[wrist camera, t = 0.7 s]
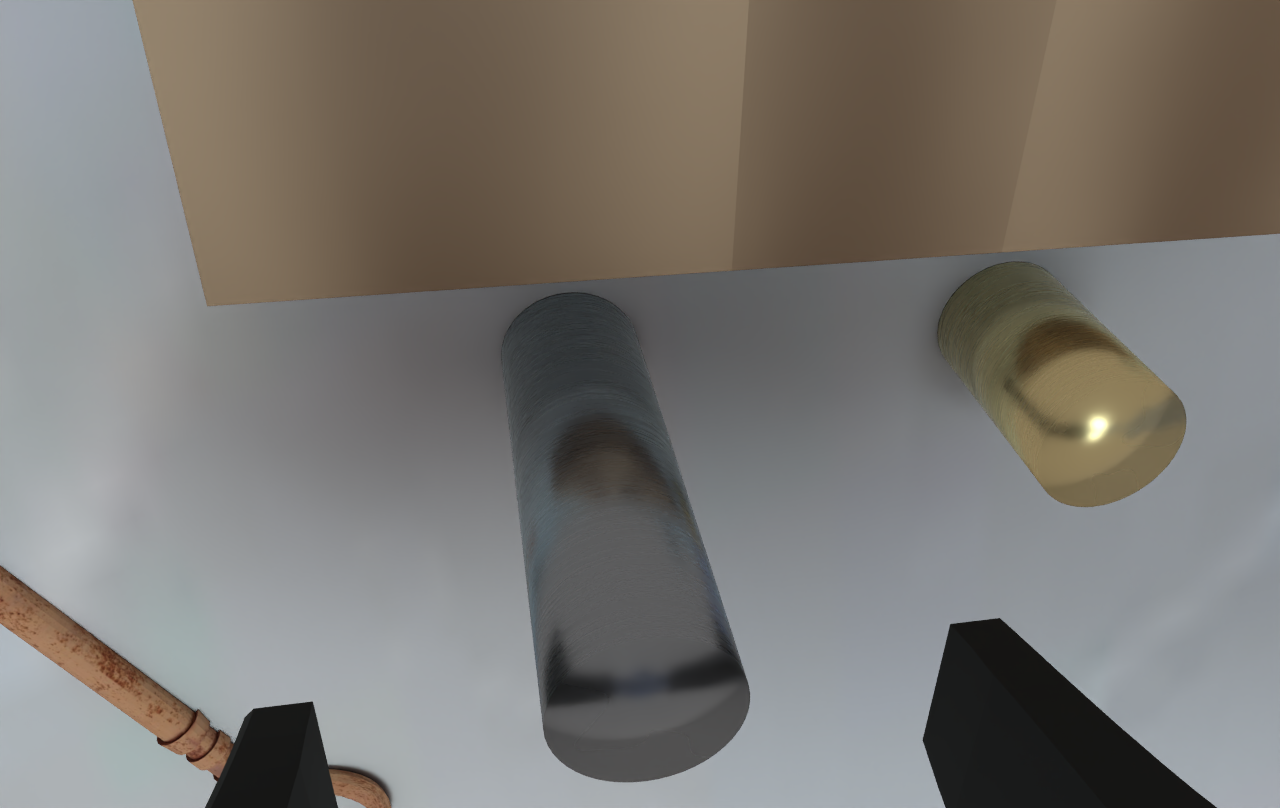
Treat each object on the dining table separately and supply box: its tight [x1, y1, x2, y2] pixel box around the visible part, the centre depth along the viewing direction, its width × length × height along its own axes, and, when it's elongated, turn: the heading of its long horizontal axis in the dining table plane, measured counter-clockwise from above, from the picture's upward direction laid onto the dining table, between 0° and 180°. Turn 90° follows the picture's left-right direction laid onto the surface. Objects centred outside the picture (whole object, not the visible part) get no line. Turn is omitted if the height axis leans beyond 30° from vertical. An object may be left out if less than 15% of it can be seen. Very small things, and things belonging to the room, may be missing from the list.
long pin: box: [501, 293, 750, 782], centre depth 16 cm, size 2×2×8 cm
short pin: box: [938, 262, 1186, 507], centre depth 18 cm, size 2×2×4 cm
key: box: [0, 566, 391, 808], centre depth 21 cm, size 6×1×15 cm
